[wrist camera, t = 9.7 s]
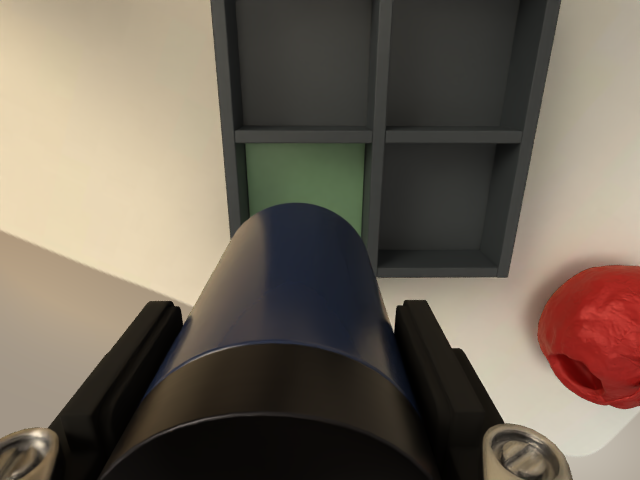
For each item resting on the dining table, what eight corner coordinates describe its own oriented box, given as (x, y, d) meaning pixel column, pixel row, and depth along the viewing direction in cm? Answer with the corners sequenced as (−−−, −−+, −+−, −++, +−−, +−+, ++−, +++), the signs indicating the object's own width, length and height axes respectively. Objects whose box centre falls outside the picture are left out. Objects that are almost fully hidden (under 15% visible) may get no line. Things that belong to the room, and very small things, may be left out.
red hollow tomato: (577, 225, 27) (699, 290, 18) (685, 281, 29) (844, 364, 20) (494, 335, 30) (566, 434, 22) (596, 380, 32) (700, 488, 23)
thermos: (373, 201, 14) (483, 411, 5) (366, 332, 16) (436, 658, 7) (218, 201, 14) (35, 414, 5) (230, 333, 16) (116, 663, 7)
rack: (531, -29, 22) (571, -50, 18) (484, 255, 28) (508, 277, 25) (222, -31, 22) (205, -53, 18) (243, 255, 28) (233, 278, 24)
